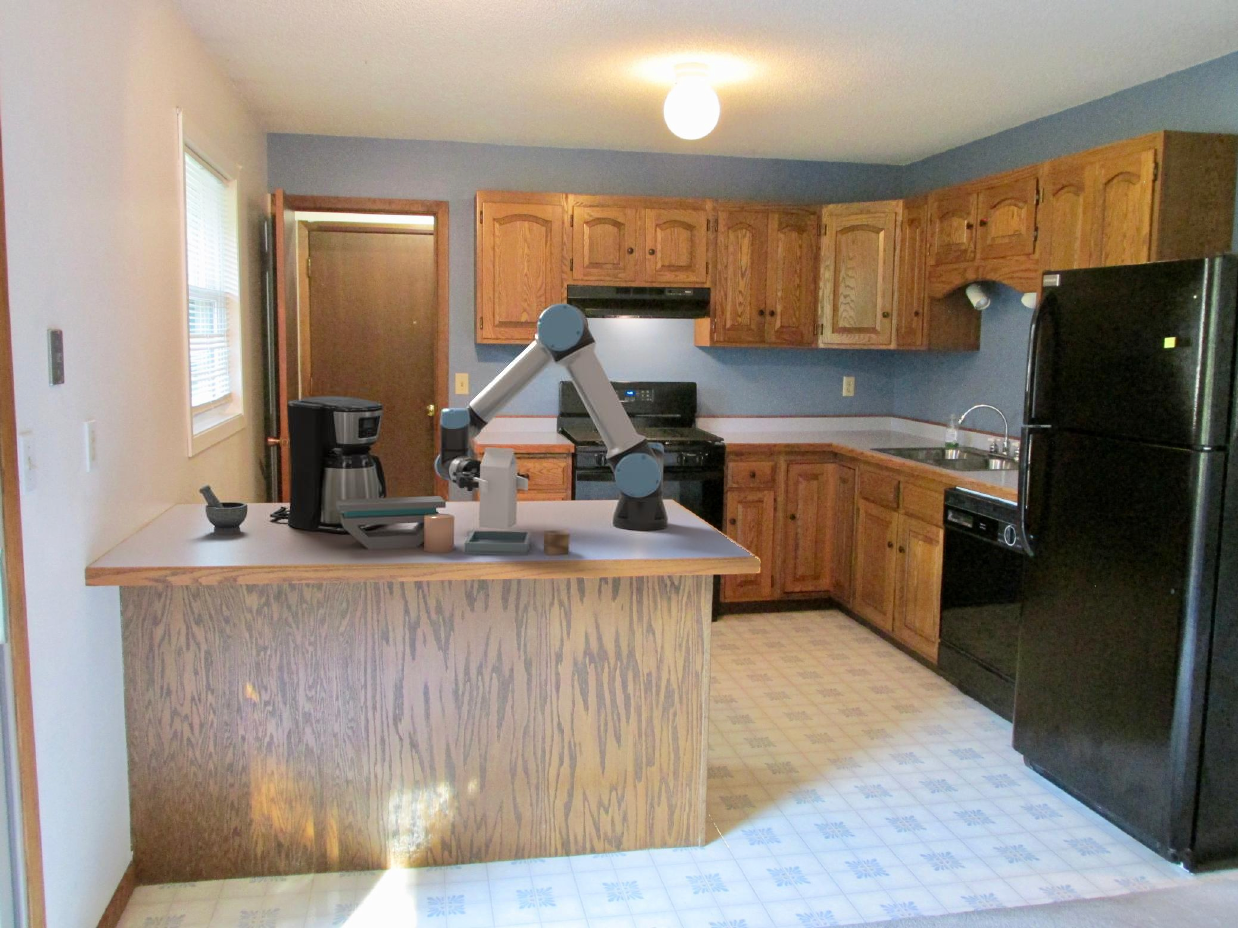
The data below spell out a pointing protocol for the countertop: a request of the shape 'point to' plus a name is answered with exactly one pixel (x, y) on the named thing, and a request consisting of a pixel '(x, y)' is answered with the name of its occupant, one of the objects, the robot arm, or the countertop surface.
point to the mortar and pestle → (223, 513)
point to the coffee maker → (331, 459)
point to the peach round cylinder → (438, 533)
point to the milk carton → (498, 489)
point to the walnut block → (556, 542)
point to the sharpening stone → (388, 519)
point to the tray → (498, 542)
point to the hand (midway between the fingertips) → (506, 485)
